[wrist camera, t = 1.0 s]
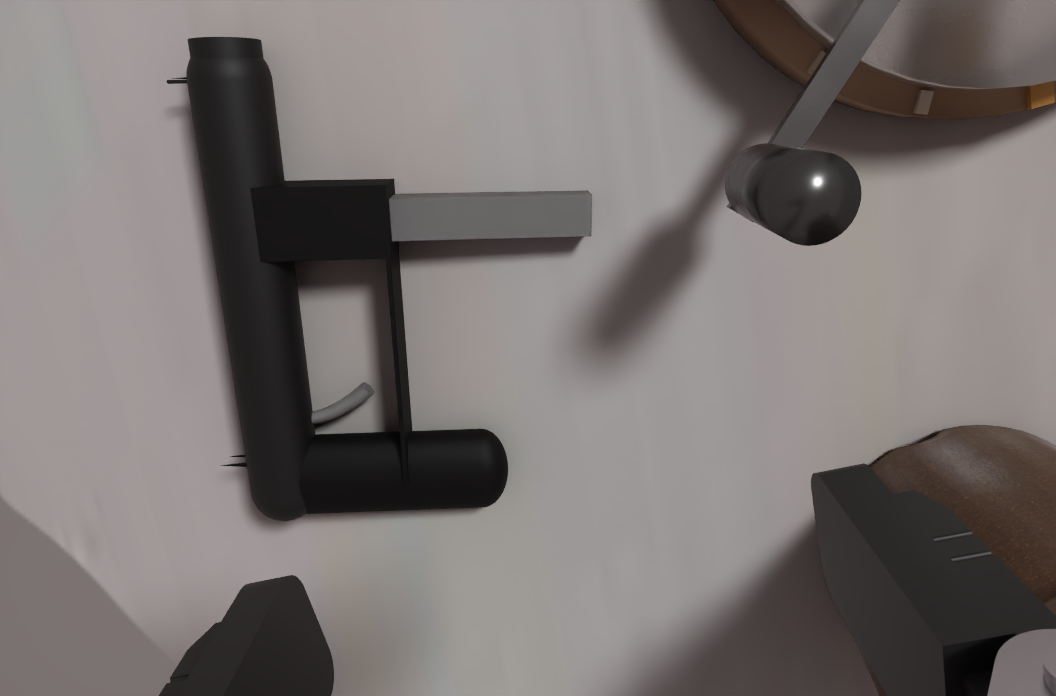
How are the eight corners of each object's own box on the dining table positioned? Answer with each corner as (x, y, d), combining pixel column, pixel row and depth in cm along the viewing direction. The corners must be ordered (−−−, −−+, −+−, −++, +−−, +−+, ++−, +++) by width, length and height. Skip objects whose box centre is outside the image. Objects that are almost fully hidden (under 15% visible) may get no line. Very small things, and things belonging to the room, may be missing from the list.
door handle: (596, 28, 26) (133, 35, 25) (591, 522, 32) (221, 536, 31) (585, 36, 29) (174, 43, 28) (582, 484, 35) (246, 497, 35)
